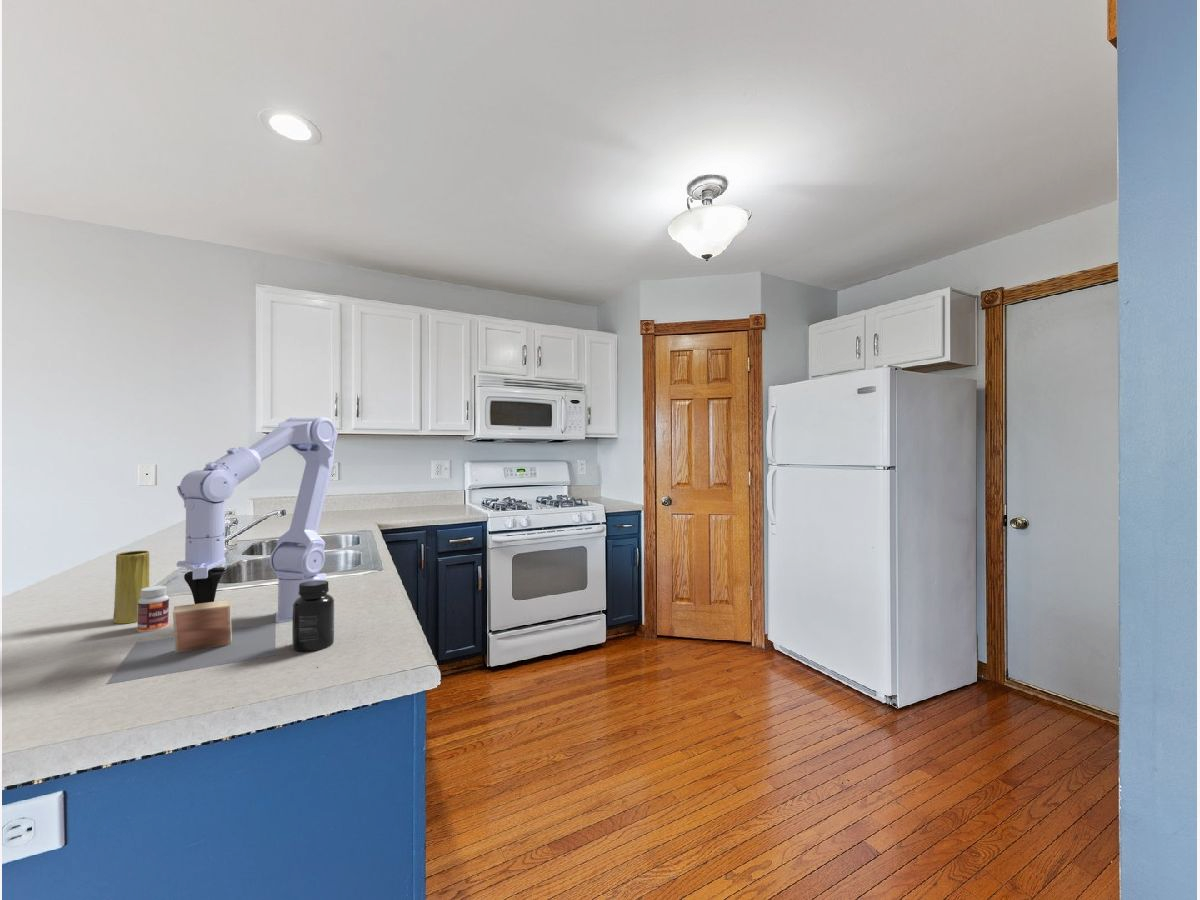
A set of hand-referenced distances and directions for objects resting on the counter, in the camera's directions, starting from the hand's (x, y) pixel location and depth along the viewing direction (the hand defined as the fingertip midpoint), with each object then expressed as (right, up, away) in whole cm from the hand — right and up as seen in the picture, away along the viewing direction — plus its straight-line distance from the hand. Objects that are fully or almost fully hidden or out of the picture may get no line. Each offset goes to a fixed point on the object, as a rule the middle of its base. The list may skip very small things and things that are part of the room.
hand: (204, 610), depth 94 cm
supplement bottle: (+19, -8, +2) cm, 21 cm away
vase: (-28, -7, +16) cm, 33 cm away
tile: (0, -7, 0) cm, 7 cm away
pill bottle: (-18, -7, +10) cm, 22 cm away
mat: (0, -7, 0) cm, 7 cm away
